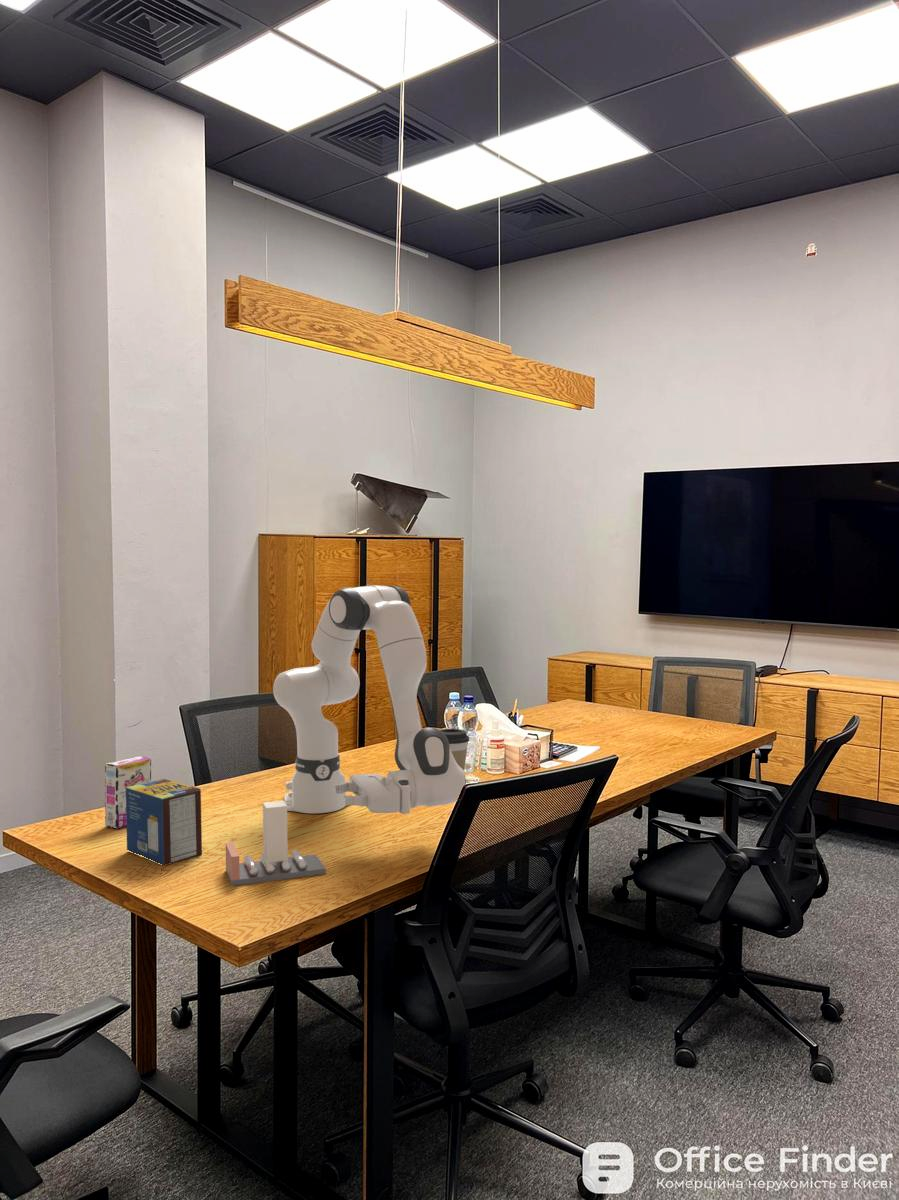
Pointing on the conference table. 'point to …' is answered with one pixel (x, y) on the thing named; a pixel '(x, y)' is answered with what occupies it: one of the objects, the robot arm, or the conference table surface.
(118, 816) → the candy bar box
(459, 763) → the coffee cup
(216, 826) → the conference table surface
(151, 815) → the protein box
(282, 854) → the wooden block
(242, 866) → the roller track
